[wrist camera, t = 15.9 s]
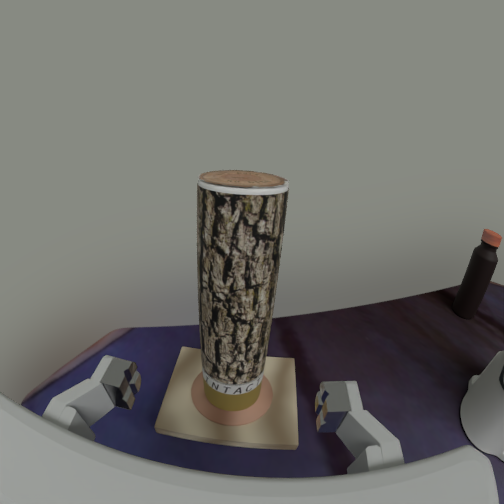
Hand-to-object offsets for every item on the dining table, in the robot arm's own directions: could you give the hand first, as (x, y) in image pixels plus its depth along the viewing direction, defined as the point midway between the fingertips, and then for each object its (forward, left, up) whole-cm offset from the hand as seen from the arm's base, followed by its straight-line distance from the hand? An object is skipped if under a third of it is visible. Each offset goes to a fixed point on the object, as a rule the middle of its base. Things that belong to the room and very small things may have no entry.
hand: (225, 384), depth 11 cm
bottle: (-50, -35, -21) cm, 65 cm away
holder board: (+1, -13, -21) cm, 25 cm away
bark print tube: (+1, -13, -19) cm, 23 cm away
